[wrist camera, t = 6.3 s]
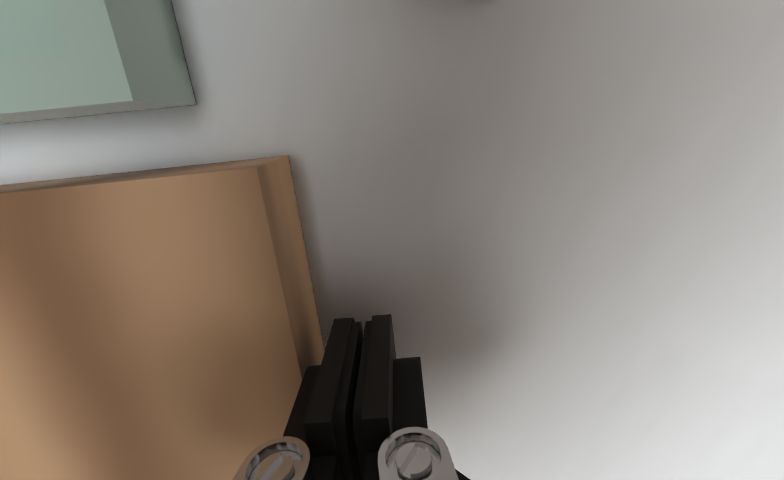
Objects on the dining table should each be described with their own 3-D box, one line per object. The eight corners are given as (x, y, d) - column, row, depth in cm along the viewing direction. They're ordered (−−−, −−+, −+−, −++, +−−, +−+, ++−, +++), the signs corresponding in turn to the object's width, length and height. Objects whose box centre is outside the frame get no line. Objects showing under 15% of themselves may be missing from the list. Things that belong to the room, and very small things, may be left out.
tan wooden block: (292, 153, 11) (256, 167, 8) (349, 463, 15) (337, 547, 12) (-34, 187, 11) (-179, 211, 8) (104, 480, 15) (36, 565, 12)
